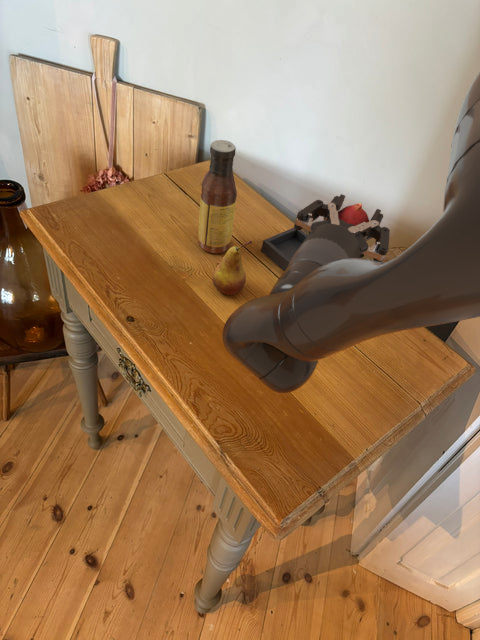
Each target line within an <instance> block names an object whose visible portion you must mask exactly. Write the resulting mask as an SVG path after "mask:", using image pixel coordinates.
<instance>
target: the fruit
mask: <svg viewBox="0 0 480 640" xmlns="http://www.w3.org/2000/svg"><path fill="white" fill-rule="evenodd" d="M252 243H253V242H252V240H249V241H246V242H245V243H243V244H242V245H240V246H237V245H235V246H231V247H229V248H228V250H226V252H225V254H224V256H223V257H222V259H221V260H220V263H218V264H217V266H216V267H215V268H214V271H213V275H212V283H213V286H214V287H215V289H216V290H217V291H218V292H220V293H222V294H224V295H227V296H231V295H235V294H237V293H239V292H240V291H242V290H243V288H244V287H245V285H246V281H247V277H246V276H247V273H246V270H245V268H244V265H243V262H242V253H241V250H240V249H241V248H243V247H245V246H249V245H251V244H252Z"/></svg>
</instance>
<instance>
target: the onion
mask: <svg viewBox="0 0 480 640" xmlns="http://www.w3.org/2000/svg"><path fill="white" fill-rule="evenodd" d="M338 219H341V220H343V221H345V222H346V223H349V224H352V225H355V226H356V225H358V224H361V223H363V222H366V223H367V222H369V221H370V219H369V215H368V213H367V212H366V211H365V210H364V209H363V202H357V203H354V204H351V205H347V206H345V207H343V208H341V209H340V210H339V211H338Z"/></svg>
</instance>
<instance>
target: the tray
mask: <svg viewBox="0 0 480 640" xmlns="http://www.w3.org/2000/svg"><path fill="white" fill-rule="evenodd" d="M308 235H309V234H308V233H306V232H305V231H304V230H303V229H301V230H296V229H295V228H294V227H291V228H289V229H287V230H284V231H282V232H280V233H277V234H275V235H272V236H270V237H268V238H265V239H263V240H262V244H261V248H260V251H261V252H262V254H264V255H265V256H266V257H267V258H268V259H270V260H271V261H272V262H273V263H274V264H275V265H277V267H279V268H280V269H281V270H282V271H283V272H284V271H285V270H286V268H287V267H288V264H289V262H290V260H291V258H292V257H293V255H294V254H295V253H296V251H297V250H298V249H299V247H300V246H301V244H302V243H303V242H304V240H305V239H306V238H307V236H308Z"/></svg>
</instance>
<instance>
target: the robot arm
mask: <svg viewBox="0 0 480 640" xmlns="http://www.w3.org/2000/svg"><path fill="white" fill-rule="evenodd" d="M450 149H451V150H450V156H449V164H448V169H447V170H448V171H447V177H446V185H445V188H444V194H443V206H442V207H443V208H442V209H443V211H442V212H443V214H442V215H441V217H440V218H438V220H437V221H436V222H435V223H434V224H433V225H432V226H431V227H430V228H428V230H427V231H426V232H425V233H424V234H423V235H421V236H420V238H418V239H417V241H415V242H414V243H413V244H412V245H410V246H409V247H408V248H407V249H405V250H404V251H403V252H401V253H400V254H399V255H397V256H396V257H393V258H392V259H390V260H388V261H384V260H385V258H386V256H387V254H388V252H389V249H390V247H389V246H390V233H391V232H390V231H391V229H390V228H389V227H386V226H381V223H382V221H383V218H384V214H383V213H381V212H382V210H381V209H379V208H376V210H375V211H374V212H373V215H372V217H371V218H370V219H369V222H367V223H366V222H363V223H361V224H358V225H356V226H355V225H352V224H349V223H346V222H345V221H343V220H341V219H338V212H339V211H340V210H341V209H342V206H343V204H344V201H345V198H346V195H344V194H342V193H341V194H340V195H339V196H338V195H336V196H335V195H334V197H333V198H332V200H331V201H330V202H328V203H327V204H326V203H324V201H323V200H321V199H316V200H314V201H313V202H311V203H310V204H308V205H307V206H305V207H304V208H302V209H300V210H299V211H298V212H297V214H296V218H295V221H294V225H293V228H295V229H296V230H303V229H304V230H305V231H306V232H307V231H308V234H307V235H308V236H307V238H306V239H305V240H304V242H303V243H302V244H301V246H300V247H299V249H298V250H297V251H296V253H295V254H294V255H293V257H292V258H291V260H290V262H289V264H288V267H287V268H286V270H285V271H283V272H282V274H281V275H280V276H279V278H278V279H277V281H276V282H275V283H274V285H273V286H272V288H271V290H270V292H269V294H266V295H261V296H258V297H255V298H252V299H250V300H248V301H246V302H244V303H243V304H241V305H240V306H238V307H237V308H236V309H235V310H234V311H232V313H231V314H230V315H229V316H228V317H227V319H226V321H225V323H224V324H223V325H224V326H223V328H222V344H223V345H224V348H225V350H226V351H227V352H228V354H229V355H230V356H231V357H232V358H234V359H235V360H236V361H237V362H238V363H240V365H242V366H243V367H244V368H245V369H246V370H247V371H248V372H249V373H251V374H252V375H253V376H254V377H255V378H257V379H258V380H259V381H260V382H261V383H262V384H264V385H265V386H266V387H267V388H269V389H270V390H271V391H273V392H275V393H278V394H288V393H292V392H294V391H297V390H299V389H300V388H302V387H303V386H304V385H305V384H306V383H307V382H308V381H309V380H310V379H311V377H312V375H313V374H314V372H315V370H316V369H317V366H318V363H319V362H320V361H321V360H323V359H326V358H328V357H331V356H334V355H335V354H337V353H340V352H342V351H345V350H347V349H350V348H352V347H354V346H356V345H359V344H360V343H364V342H366V341H369V340H371V339H375V338H379V337H381V336H386V335H389V334H393V333H399V332H404V331H410V330H415V329H420V328H427V327H433V326H439V325H445V324H451V323H455V322H456V323H457V322H462V321H466V320H470V319H477V318H480V71H479V72H478V73H477V75H476V76H475V78H474V79H473V81H472V83H471V84H470V86H469V88H468V90H467V92H466V94H465V96H464V99H463V101H462V104H461V106H460V109H459V112H458V115H457V118H456V122H455V126H454V129H453V135H452V140H451V148H450ZM320 217H323V218H322V219H323V220H319V221H315V220H317V219H318V218H320ZM314 221H315V222H314ZM371 239H374V241H375V242H374V244H372V246H369V244H368V242H367V241H370V240H371ZM364 257H369V258H371V259H368V258H364Z"/></svg>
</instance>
